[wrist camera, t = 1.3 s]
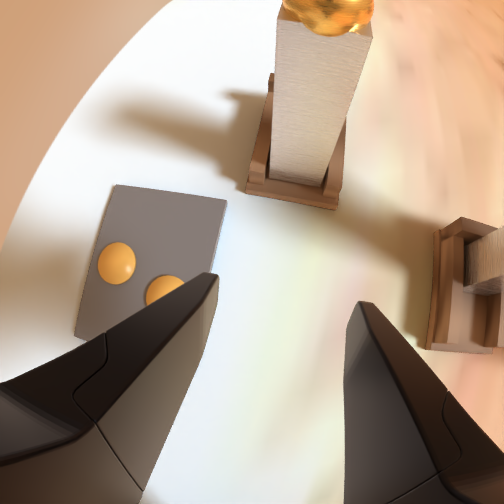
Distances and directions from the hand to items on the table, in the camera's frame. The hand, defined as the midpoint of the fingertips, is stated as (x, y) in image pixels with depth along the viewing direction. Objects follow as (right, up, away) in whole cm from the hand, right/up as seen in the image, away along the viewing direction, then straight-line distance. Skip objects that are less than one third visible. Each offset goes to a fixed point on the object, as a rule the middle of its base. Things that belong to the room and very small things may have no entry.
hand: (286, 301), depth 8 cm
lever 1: (+2, +8, +14) cm, 16 cm away
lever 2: (+16, 0, +11) cm, 20 cm away
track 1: (+3, +9, +15) cm, 18 cm away
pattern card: (-8, 0, +13) cm, 16 cm away
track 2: (+16, -2, +12) cm, 20 cm away
